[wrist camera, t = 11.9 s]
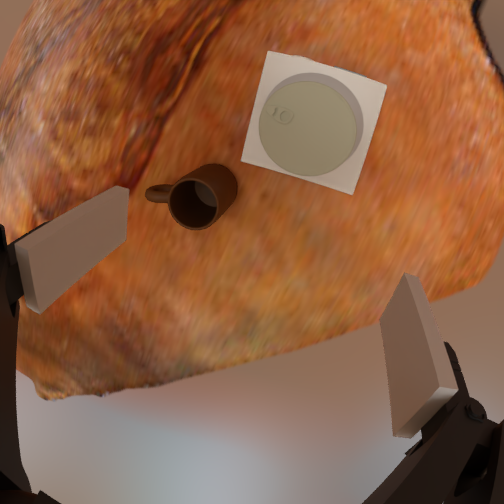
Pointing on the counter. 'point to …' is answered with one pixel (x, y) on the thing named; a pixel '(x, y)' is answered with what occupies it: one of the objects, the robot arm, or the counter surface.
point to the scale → (343, 81)
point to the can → (307, 128)
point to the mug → (197, 196)
